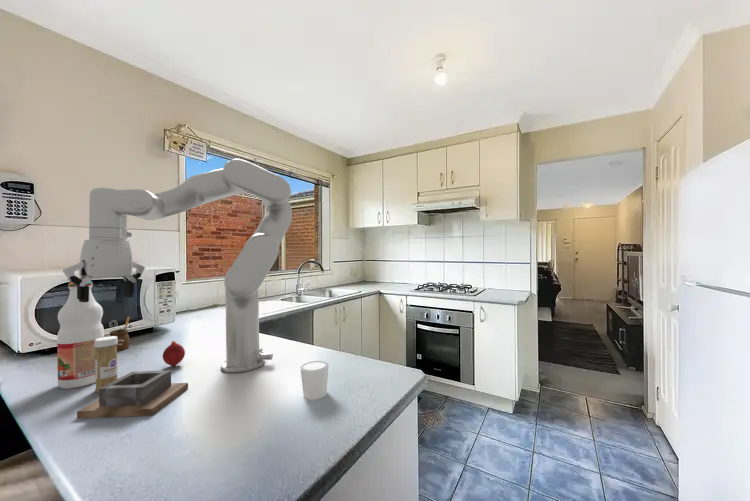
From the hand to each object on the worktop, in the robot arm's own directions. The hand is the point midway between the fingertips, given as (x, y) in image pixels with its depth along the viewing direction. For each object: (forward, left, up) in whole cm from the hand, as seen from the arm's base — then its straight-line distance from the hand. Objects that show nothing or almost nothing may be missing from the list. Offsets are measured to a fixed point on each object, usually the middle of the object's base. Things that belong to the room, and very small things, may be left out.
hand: (107, 299), depth 80 cm
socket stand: (-14, +9, -24) cm, 29 cm away
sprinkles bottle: (0, +1, -24) cm, 24 cm away
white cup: (-56, +8, -24) cm, 61 cm away
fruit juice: (+11, -4, -24) cm, 26 cm away
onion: (-8, -14, -24) cm, 29 cm away
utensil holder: (+25, -34, -24) cm, 49 cm away
